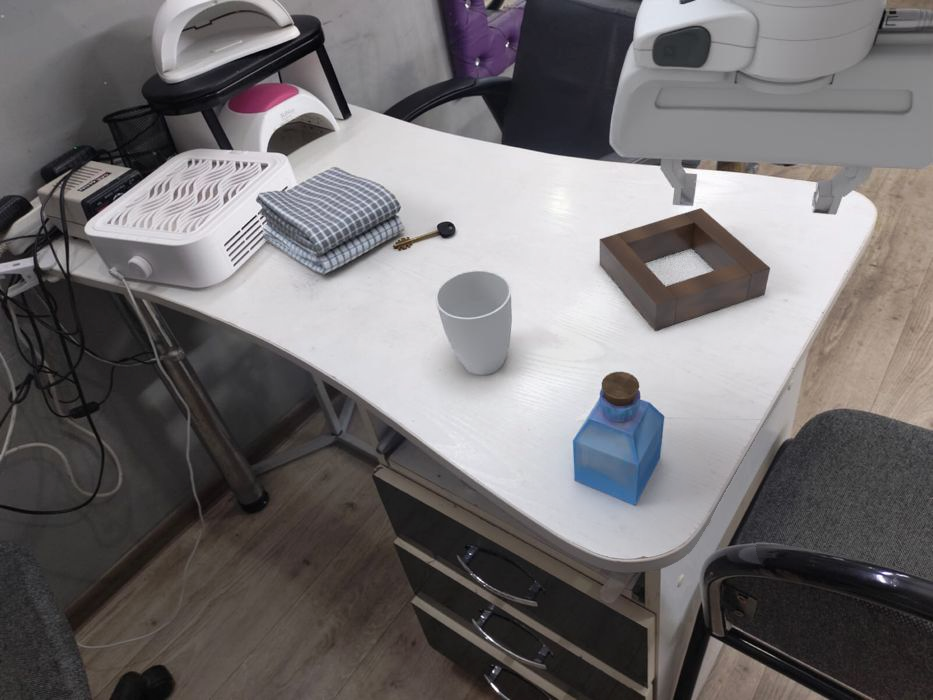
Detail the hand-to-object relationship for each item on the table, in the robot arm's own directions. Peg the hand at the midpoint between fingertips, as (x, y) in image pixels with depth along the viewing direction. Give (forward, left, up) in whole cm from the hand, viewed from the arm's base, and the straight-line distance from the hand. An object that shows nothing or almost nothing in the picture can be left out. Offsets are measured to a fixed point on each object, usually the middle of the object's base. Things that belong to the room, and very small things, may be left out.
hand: (751, 204), depth 49 cm
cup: (+17, -20, -27) cm, 38 cm away
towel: (+29, -55, -27) cm, 68 cm away
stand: (-10, -23, -27) cm, 37 cm away
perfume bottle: (+10, 0, -27) cm, 29 cm away
